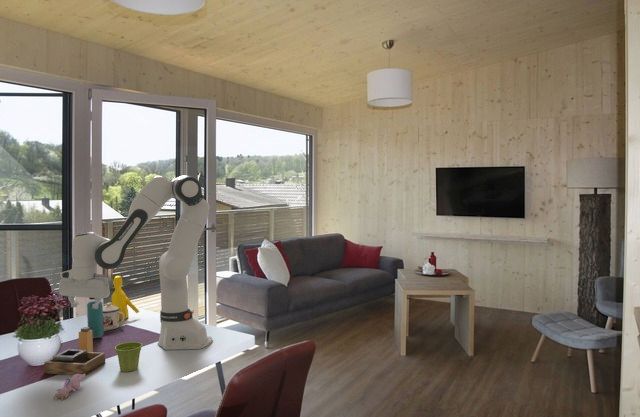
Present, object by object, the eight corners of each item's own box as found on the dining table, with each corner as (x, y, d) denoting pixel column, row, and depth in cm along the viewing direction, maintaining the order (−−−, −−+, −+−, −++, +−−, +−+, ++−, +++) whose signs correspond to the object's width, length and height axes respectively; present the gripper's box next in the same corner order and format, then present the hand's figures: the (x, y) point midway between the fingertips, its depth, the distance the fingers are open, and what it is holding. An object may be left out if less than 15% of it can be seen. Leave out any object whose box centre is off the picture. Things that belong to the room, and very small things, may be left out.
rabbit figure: (68, 405, 150) (92, 378, 165) (66, 388, 149) (90, 363, 164) (48, 405, 151) (74, 378, 165) (46, 388, 149) (72, 362, 164)
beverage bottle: (106, 336, 214) (105, 291, 213) (98, 341, 207) (97, 295, 206) (93, 335, 214) (91, 291, 213) (84, 340, 208) (83, 295, 207)
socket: (87, 361, 181) (87, 349, 181) (73, 369, 173) (73, 357, 173) (68, 360, 182) (67, 348, 182) (53, 368, 174) (53, 356, 174)
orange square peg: (92, 354, 191) (92, 326, 191) (87, 357, 188) (86, 329, 187) (84, 354, 192) (84, 326, 191) (79, 357, 188) (78, 329, 188)
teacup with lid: (94, 330, 223) (94, 305, 222) (104, 324, 232) (104, 300, 231) (120, 330, 222) (119, 305, 221) (129, 324, 231) (128, 301, 230)
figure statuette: (141, 317, 244) (140, 274, 243) (134, 321, 237) (133, 277, 235) (107, 316, 246) (106, 273, 245) (99, 320, 238) (98, 276, 237)
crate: (105, 363, 182) (105, 352, 182) (85, 375, 170) (85, 364, 170) (66, 360, 184) (66, 350, 184) (44, 373, 172) (44, 362, 172)
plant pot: (124, 363, 182) (124, 340, 181) (147, 365, 180) (147, 342, 180) (109, 373, 173) (109, 349, 172) (133, 374, 171) (133, 351, 170)
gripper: (113, 273, 190) (113, 307, 191) (67, 270, 194) (67, 304, 194) (103, 276, 184) (103, 311, 184) (56, 273, 188) (56, 308, 188)
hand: (84, 308), depth 189 cm, fingers open, 8 cm apart
